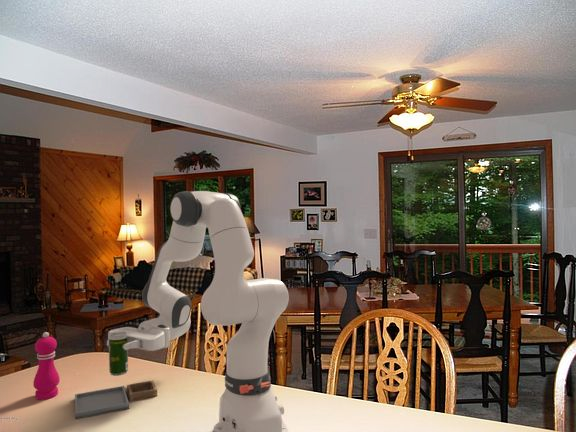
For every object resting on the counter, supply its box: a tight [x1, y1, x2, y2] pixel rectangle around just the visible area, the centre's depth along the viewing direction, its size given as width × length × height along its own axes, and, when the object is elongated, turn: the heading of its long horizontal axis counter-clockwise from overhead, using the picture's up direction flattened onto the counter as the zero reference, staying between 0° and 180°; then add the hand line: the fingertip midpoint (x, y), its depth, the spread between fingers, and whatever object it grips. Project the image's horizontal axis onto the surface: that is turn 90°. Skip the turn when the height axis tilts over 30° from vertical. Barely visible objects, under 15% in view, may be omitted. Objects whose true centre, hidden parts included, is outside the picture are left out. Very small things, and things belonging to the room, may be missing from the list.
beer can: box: [108, 332, 129, 377], centre depth 135 cm, size 5×5×12 cm
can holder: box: [126, 380, 158, 402], centre depth 140 cm, size 8×8×2 cm
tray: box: [74, 385, 130, 420], centre depth 132 cm, size 14×14×2 cm
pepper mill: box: [33, 331, 60, 401], centre depth 138 cm, size 7×7×20 cm
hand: (115, 345), depth 134 cm, fingers closed on beer can, 5 cm apart
